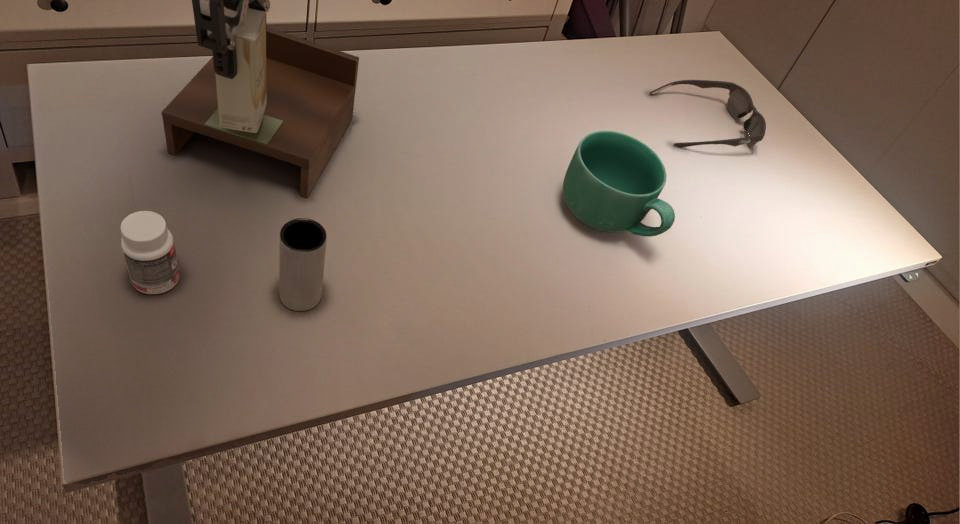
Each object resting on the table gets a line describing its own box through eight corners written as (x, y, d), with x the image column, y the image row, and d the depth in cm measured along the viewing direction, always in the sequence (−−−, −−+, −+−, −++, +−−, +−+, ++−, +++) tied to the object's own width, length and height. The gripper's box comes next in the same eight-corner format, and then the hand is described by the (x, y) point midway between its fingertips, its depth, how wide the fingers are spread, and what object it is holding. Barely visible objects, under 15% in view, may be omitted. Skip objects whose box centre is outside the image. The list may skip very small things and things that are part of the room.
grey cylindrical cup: (293, 318, 71) (295, 258, 63) (271, 289, 73) (270, 227, 65) (329, 300, 73) (335, 240, 66) (307, 273, 75) (310, 211, 67)
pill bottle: (186, 286, 70) (177, 235, 64) (139, 301, 68) (125, 250, 62) (171, 255, 72) (161, 202, 66) (124, 268, 70) (110, 215, 64)
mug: (537, 190, 93) (559, 139, 86) (601, 171, 100) (626, 122, 93) (609, 276, 86) (639, 228, 79) (673, 249, 92) (706, 202, 85)
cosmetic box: (257, 135, 76) (255, 42, 67) (218, 128, 75) (210, 33, 66) (268, 101, 80) (267, 9, 71) (230, 94, 79) (225, 1, 70)
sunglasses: (763, 159, 112) (777, 137, 108) (672, 160, 109) (682, 136, 105) (728, 98, 122) (739, 76, 118) (643, 97, 119) (652, 74, 115)
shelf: (307, 198, 82) (310, 133, 74) (167, 153, 81) (156, 83, 74) (352, 120, 94) (359, 57, 86) (230, 80, 93) (226, 12, 85)
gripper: (239, -56, 55) (245, 105, 67) (305, -114, 64) (299, 36, 77) (151, -85, 54) (174, 81, 67) (230, -139, 64) (237, 15, 76)
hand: (241, 57), depth 72 cm, fingers closed on cosmetic box, 7 cm apart
